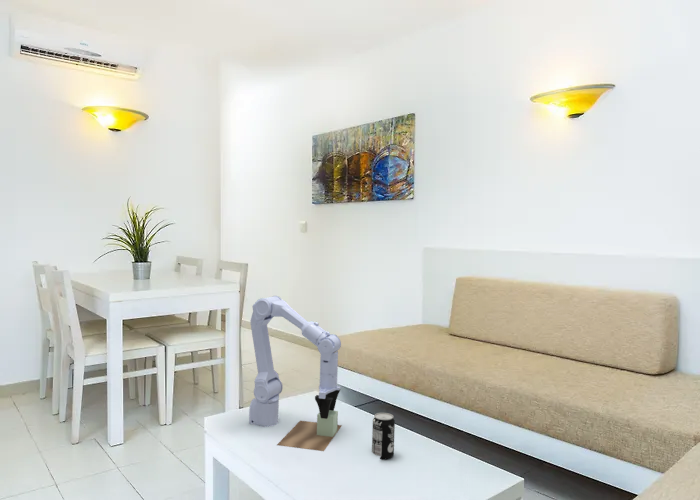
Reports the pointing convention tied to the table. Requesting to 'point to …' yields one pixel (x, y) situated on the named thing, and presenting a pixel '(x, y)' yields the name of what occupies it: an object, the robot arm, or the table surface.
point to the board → (306, 437)
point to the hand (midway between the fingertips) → (327, 414)
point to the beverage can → (383, 435)
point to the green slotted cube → (327, 424)
